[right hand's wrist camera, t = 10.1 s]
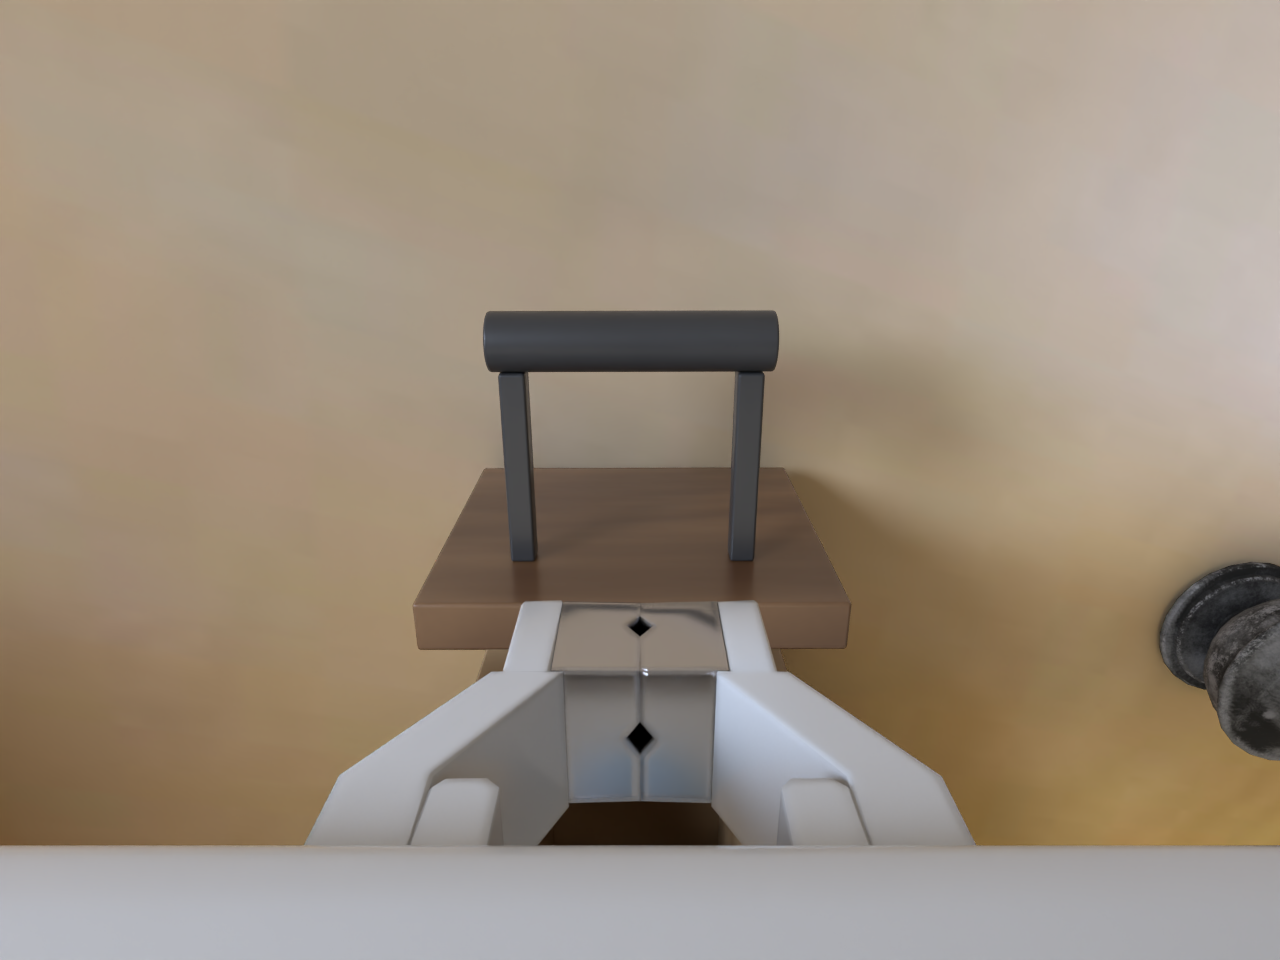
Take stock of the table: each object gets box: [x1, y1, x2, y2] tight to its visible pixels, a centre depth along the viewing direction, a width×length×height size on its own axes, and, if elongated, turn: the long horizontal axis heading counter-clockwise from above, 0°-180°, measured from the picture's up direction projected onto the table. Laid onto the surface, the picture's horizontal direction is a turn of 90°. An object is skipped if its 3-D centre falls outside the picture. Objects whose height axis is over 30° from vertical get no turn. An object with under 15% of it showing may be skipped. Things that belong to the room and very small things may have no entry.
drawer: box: [413, 311, 851, 846], centre depth 23 cm, size 25×10×9 cm, turn 0°
